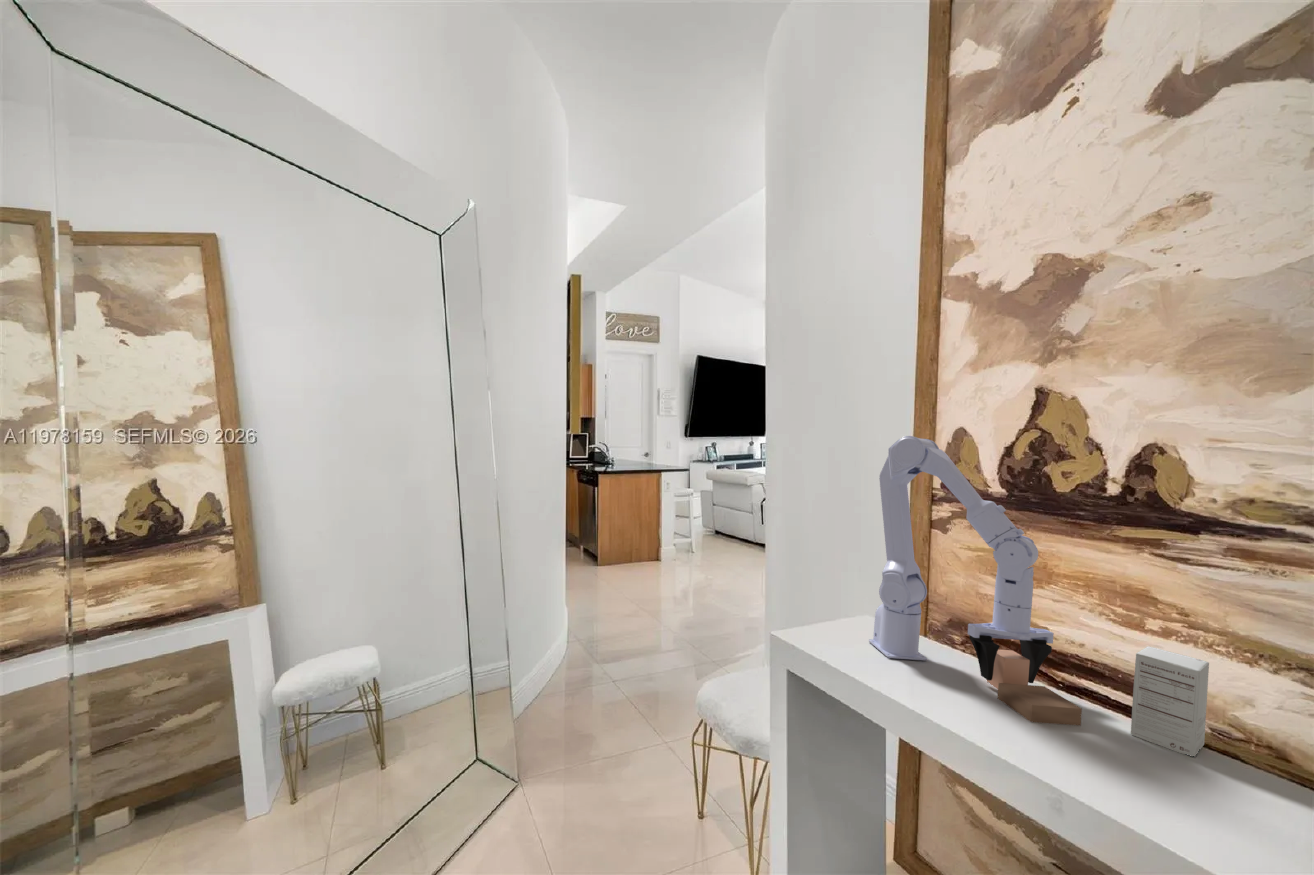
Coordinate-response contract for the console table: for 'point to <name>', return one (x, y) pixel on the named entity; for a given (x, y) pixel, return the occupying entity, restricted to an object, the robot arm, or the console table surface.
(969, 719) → the console table surface
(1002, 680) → the cube
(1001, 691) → the walnut block
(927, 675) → the console table surface
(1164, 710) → the supplement box
